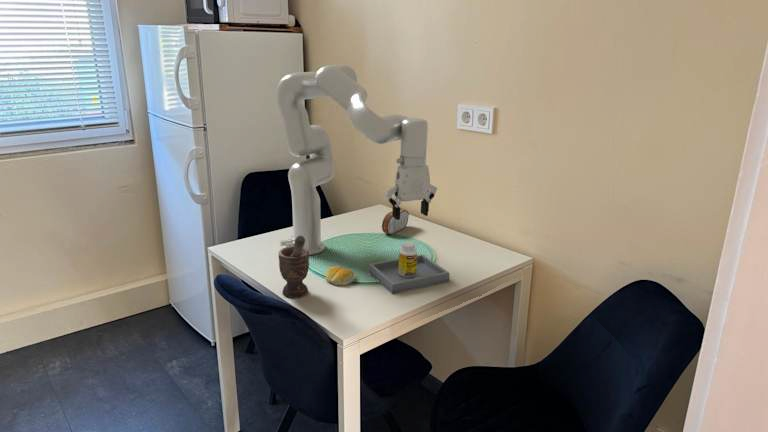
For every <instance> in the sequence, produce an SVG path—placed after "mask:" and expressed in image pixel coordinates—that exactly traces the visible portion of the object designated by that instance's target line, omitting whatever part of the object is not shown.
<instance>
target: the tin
mask: <svg viewBox="0 0 768 432" xmlns="http://www.w3.org/2000/svg"><path fill="white" fill-rule="evenodd" d="M409 216H410V215H409V211H408V210H406V209H404V208H402V207H400V219H399V220H397V219H395V218H394V217H393V215H392V211H390V212H388V213H386V214H385V216H384V218H383V220H382V224H381V229H382V232H383V233H384V234H388V235H393V234H396V233H397V232H399V231H402V230H404V229H405V228H406V227H407V225H408V222H409Z"/></svg>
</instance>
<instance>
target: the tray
mask: <svg viewBox="0 0 768 432" xmlns="http://www.w3.org/2000/svg"><path fill="white" fill-rule="evenodd" d="M369 273H370V274H371V275H370V274H369ZM368 274H369V275H370V276H372V277H373V278H374V280H376V279H377V280H378V281H379V282H378V281H377V280H376V281H377V282H378V283H379V284H380V285H382V286H383V287H384V288H385V289H386V290H387V291H388V292H389V293H390V294H392V295H394V294H399V293H403V292H406V291H413V290H417V289H421V288H425V287H426V288H427V287H430V286H435V285H439V284H440V285H441V284H444V283H448V282H450V272H449V271H447V270H446V269H445V268H443V267H442V266H440V265H439V263H436V262H435V261H433V260H432V259H431V258H429V257H428V256H426V255H424V254H417V265H416V274H415V275H414V276H413V277H403V276H401V275H400V274H399V258H396V259H389V260H385V261H379V262H378V261H377V262H373V263H369V264H368Z"/></svg>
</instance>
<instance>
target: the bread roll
mask: <svg viewBox="0 0 768 432" xmlns="http://www.w3.org/2000/svg"><path fill="white" fill-rule="evenodd" d="M325 280H326V282H327V283H330V284H333V285H335V286H347V285H349V284H352V283H353V282H354V280H355V273H354V272H353V270H351V269H349V268H344V266H343V267H342V266H338V265H335V266H332V267H330V268H328V269H327V270H326V272H325ZM352 281H353V282H352Z"/></svg>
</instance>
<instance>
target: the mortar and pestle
mask: <svg viewBox="0 0 768 432" xmlns="http://www.w3.org/2000/svg"><path fill="white" fill-rule="evenodd" d="M304 244H305V238H304V237H303V236H298V237H297V238H296V239H295V243H294V246H289V247H286V246H285V247H283V248H281V249H279V250H278V262H279V263H278V267H279V272H280V275H281V277H282V279H283V280H284V281H285V282H286V284H285V285H284V286H283V289H282V295H283V296H285V297H288V298H301V297H304V296H306V295H307V294H308V292H309V289H308V286H307V284H305V283H303V281H304V280H305V278H307V277H308V272H309V267H310V260H309V259H310V255H309V250H308V249H307V248H305V247H304Z"/></svg>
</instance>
